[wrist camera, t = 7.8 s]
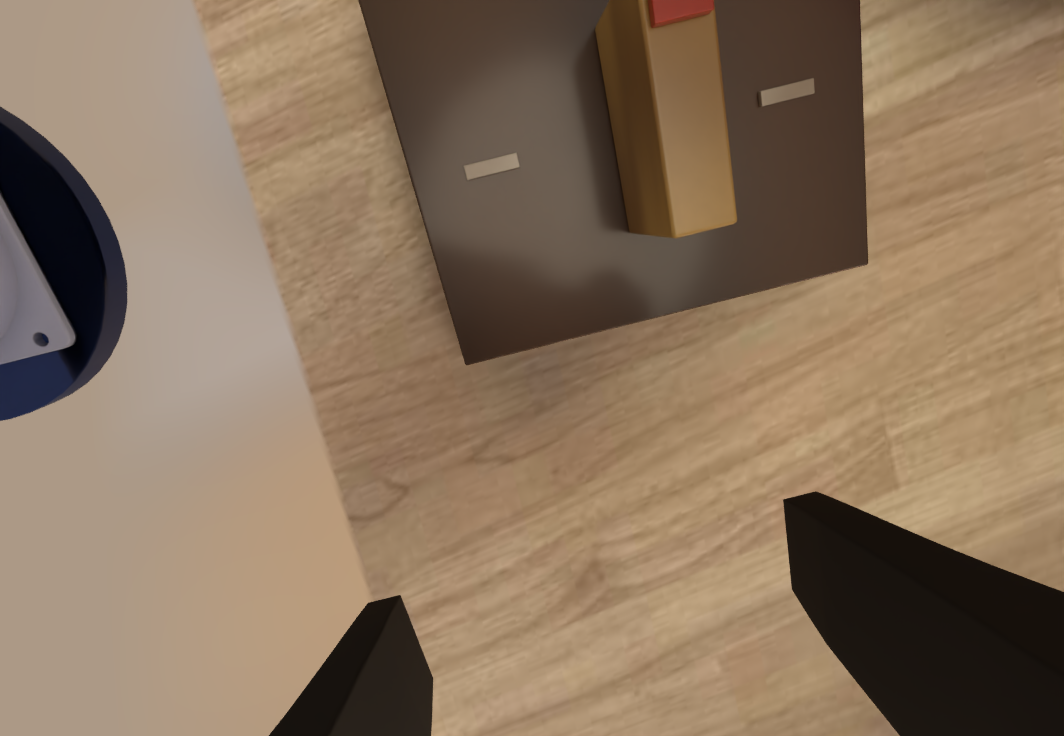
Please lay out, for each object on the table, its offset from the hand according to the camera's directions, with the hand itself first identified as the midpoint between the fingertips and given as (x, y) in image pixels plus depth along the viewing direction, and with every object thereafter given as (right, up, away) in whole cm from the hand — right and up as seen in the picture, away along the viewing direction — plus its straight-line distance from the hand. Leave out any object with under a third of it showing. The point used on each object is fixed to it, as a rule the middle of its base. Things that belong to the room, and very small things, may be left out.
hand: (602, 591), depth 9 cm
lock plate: (+1, +11, +7) cm, 13 cm away
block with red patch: (+1, +10, +4) cm, 11 cm away
